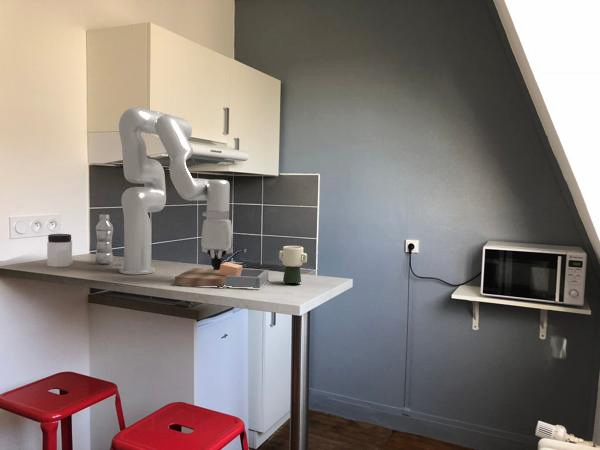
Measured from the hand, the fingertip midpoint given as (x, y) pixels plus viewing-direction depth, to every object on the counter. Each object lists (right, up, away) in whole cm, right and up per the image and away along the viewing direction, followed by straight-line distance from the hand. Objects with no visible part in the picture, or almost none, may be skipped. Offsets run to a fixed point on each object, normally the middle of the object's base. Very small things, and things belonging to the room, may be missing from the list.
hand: (216, 269), depth 172 cm
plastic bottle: (-51, -1, +30) cm, 59 cm away
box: (+10, -5, -1) cm, 11 cm away
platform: (-4, -4, +1) cm, 6 cm away
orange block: (+4, -2, -1) cm, 5 cm away
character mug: (+26, -6, +2) cm, 26 cm away
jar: (-65, -1, +24) cm, 70 cm away
